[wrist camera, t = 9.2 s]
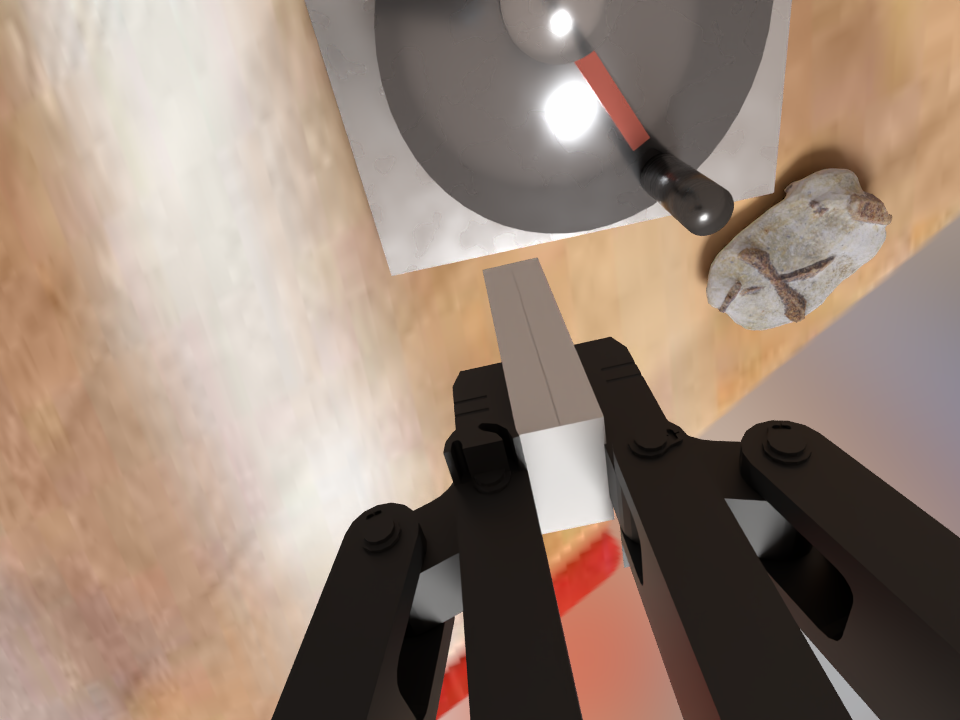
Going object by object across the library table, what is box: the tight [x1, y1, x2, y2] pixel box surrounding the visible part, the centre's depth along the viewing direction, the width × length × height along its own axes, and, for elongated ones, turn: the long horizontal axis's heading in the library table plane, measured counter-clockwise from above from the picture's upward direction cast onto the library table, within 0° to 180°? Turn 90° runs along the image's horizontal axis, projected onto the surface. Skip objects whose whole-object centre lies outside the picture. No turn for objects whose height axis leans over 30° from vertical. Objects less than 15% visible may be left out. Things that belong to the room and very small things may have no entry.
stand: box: [305, 0, 792, 276], centre depth 23 cm, size 20×20×4 cm
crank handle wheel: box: [374, 0, 773, 236], centre depth 20 cm, size 15×15×8 cm
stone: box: [706, 168, 892, 330], centre depth 31 cm, size 10×7×3 cm
